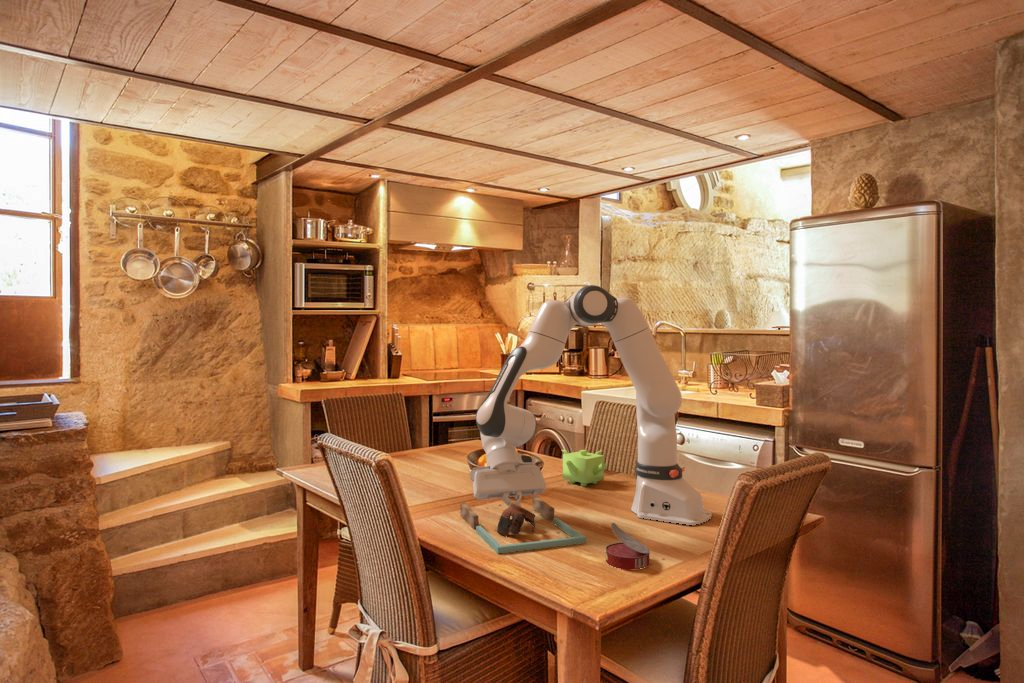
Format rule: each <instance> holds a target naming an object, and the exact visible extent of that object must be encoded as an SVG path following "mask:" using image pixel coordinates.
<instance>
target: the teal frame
mask: <svg viewBox="0 0 1024 683" xmlns="http://www.w3.org/2000/svg"><path fill="white" fill-rule="evenodd" d="M552 522H553V523H554V524H556V525H557V526H558V527H557V526H556V525H555V526H556V527H557V528H559V527H560V528H561V529H562V530H561V529H560V528H559V529H560V530H561V531H563V530H564V531H565V532H564V531H563V532H564V533H566V532H567V533H568V534H569V535H568V534H567V533H566V534H567V535H568V536H570V535H571V536H572V537H571V536H570V537H563V538H553V539H544V540H536V541H528V542H518V543H510V544H504V545H502V544H500V542H498V541H497V540H496V539H495V538H494V537H493V536H492V535H491V534H490V533H489V532H488V531H487V530H486V529H484V527H483V526H482V525H478V526H476V529H475V532H476V533H477V535H479V537H481V538H482V540H483V541H485V543H486V544H487V545H488V546H490V548H491V547H492V548H493V549H494V550H495V551H496V552H497V553H496V552H495V551H494V550H493V549H492V548H491V549H492V550H493V551H494V552H495V553H496V554H497V555H500V553H502V554H508V553H509V552H510V553H516V551H518V552H524V550H527V551H532V550H533V549H535V550H542V548H543V549H549V547H551V548H556V546H560V547H565V546H564V545H568V546H574V545H573V544H576V545H581V544H580V543H584V544H586V543H587V537H586V536H585V535H584V534H582V533H580V532H579V531H577V530H576V529H574V528H573V527H572V526H570V525H569V524H568V523H566V522H564V521H563V520H561V519H560V518H559V517H554V518H553V521H552ZM553 523H552V524H553ZM554 524H553V525H554Z"/></svg>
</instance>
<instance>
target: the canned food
mask: <svg viewBox="0 0 1024 683" xmlns="http://www.w3.org/2000/svg"><path fill="white" fill-rule="evenodd" d="M610 527H611V530H612V532H613V535H615V537H616V538H617V539H618V540H619V541H620V542H614V543H610V544H608V545H607V546H606V547H605V563H606V562H607V563H608V564H609V565H608V564H607V563H606V564H607V565H608V566H610V565H611V566H613V567H612V568H614V567H616V568H615V569H617V568H621V569H620V570H622V569H640V568H644V567H646V566H648V565H649V566H650V555H651V554H650V553H651V552H650V549H649V548H648V547H647V546H646V545H645V544H644V543H643V542H641V541H640V540H638V539H636V538H634V537H633V536H631V535H630V534H628V533H627V532H626V531H624V530H623V529H622V528H620V527H619V526H618V525H617V524H616V523H615V522H612V523H610ZM611 566H610V567H611ZM649 566H648V567H649ZM644 569H645V568H644ZM640 570H641V569H640Z"/></svg>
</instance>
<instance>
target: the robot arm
mask: <svg viewBox="0 0 1024 683" xmlns="http://www.w3.org/2000/svg"><path fill="white" fill-rule="evenodd" d="M597 324H601V325H603V327H605V328H606V329H607V332H608V333H609V335H610V337H611V339H612V343H613V345H614V347H615V349H616V352H617V354H618V356H619V360H620V361H621V363H622V365H623V368H624V369H625V372H626V374H627V375H628V377H629V379H630V381H631V383H632V386H633V387H634V390H635V405H636V406H635V407H636V410H635V411H636V423H637V424H636V425H637V461H635V478H636V485H635V492H634V497H633V501H632V505H631V508H630V509H631V512H633V513H634V514H636V517H637V518H639V519H643V518H644V520H650V519H651V520H650V521H656V520H658V521H657V522H663V521H664V523H669V522H671V523H670V524H676V523H679V524H678V525H682V524H686V525H685V526H689V525H692V526H697V525H696V524H699V525H701V524H700V523H702V524H704V523H703V522H705V523H707V522H709V521H710V520H711V519H712V518H713V517H712V516H713V515H712V512H711V511H709V510H706V509H705V507H704V501H703V497H702V494H701V493H700V492H699V491H698V490H697V489H696V488H694V487H693V486H692V485H691V484H690V483H689V482H688V480H686V479H685V478H683V472H685V471H686V470H685V469H686V467H684V466H683V467H681V466H680V465H679V463H678V462H677V461H678V460H677V458H678V455H677V454H678V452H677V451H678V434H677V428H676V418H675V416H676V415H675V414H676V413H677V412H678V411H679V410H680V408H681V406H682V401H683V397H682V392H681V390H680V388H679V386H678V384H677V382H676V379H675V378H674V376H673V374H672V371H671V370H670V368H669V366H668V364H667V362H666V361H665V359H664V357H663V355H662V353H661V351H660V349H659V347H658V344H657V342H656V340H655V338H654V335H653V333H652V331H651V329H650V326H649V324H648V322H647V320H646V318H645V315H644V314H643V312H642V311H641V309H640V308H639V306H638V305H637V303H636V302H635V301H634V299H632V298H630V297H626V296H621V297H617V298H616V296H614V295H612V294H611V293H610V292H609V291H607V290H606V289H605V288H603V287H601V286H600V285H594V284H591V285H586V286H583V287H581V288H579V289H577V290H576V291H575V292H573V294H571V295H570V296H569V297H568V298H567V299H566V300H565V301H561V300H555V299H549V300H546V301H544V302H542V304H541V305H540V307H539V309H538V310H537V312H536V313H535V316H534V318H533V320H532V322H531V324H530V327H529V330H528V333H527V335H526V337H525V339H524V340H523V342H522V343H521V344H520V345H519V346H518V347H515V348H513V350H512V351H511V352H510V353H509V355H508V357H507V358H506V360H505V362H504V363H503V365H502V368H501V369H500V371H499V373H498V375H497V377H496V378H495V380H494V383H493V385H492V386H491V389H490V391H489V392H488V394H487V396H486V397H485V399H484V400H483V402H482V403H481V404H480V405H479V406H478V408H477V411H476V414H475V424H476V426H477V428H478V430H479V435H480V440H481V445H482V449H483V451H484V452H485V461H486V464H487V466H486V465H484V466H476V467H473V468H472V469H470V471H469V477H470V478H469V479H470V480H471V482H472V489H473V491H472V492H473V497H474V498H475V499H476V500H479V501H480V500H481V501H482V500H490V499H502V501H503V503H505V504H506V505H507V508H509V507H510V506H511V503H512V504H515V505H518V506H520V507H522V504H521V500H522V498H523V496H524V497H527V496H534V495H535V496H537V495H542V494H543V493H544V491H545V489H546V487H547V484H546V480H545V477H544V475H543V473H542V471H541V469H540V467H539V466H537V465H536V462H537V461H536V458H535V457H534V456H533V455H532V456H531V455H528V454H527V455H526V454H523V453H520V452H517V451H516V448H519V447H522V446H523V445H525V444H527V443H528V442H529V441H530V440H531V439H533V437H534V436H535V434H536V432H537V428H538V426H537V425H538V423H537V419H536V416H535V414H534V413H533V412H532V411H530V410H527V409H525V408H522V407H518V406H515V405H512V404H508V401H509V399H510V396H512V392H513V391H514V390H515V388H516V385H517V383H518V381H519V380H520V378H521V377H522V376H523V375H525V373H528V372H530V371H531V372H532V371H535V370H543V369H549V368H550V367H552V366H554V365H556V364H557V363H558V361H559V360H560V359H561V357H562V354H563V351H564V349H565V346H566V343H567V341H568V337H569V334H570V333H571V330H572V329H573V328H574V327H579V328H580V327H581V328H584V327H592V326H596V325H597ZM511 497H514V499H515V500H516V501H512V500H511V499H510V498H511ZM711 517H712V518H711ZM709 519H710V520H709ZM708 520H709V521H708ZM706 521H707V522H706Z"/></svg>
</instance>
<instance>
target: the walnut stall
mask: <svg viewBox="0 0 1024 683" xmlns="http://www.w3.org/2000/svg"><path fill="white" fill-rule="evenodd" d="M459 505H460V508H459V510H460V511H459V512H460V517H461V518H462V519H463V520H464V521H465V522H466V523H467V524H468V525H469V526H470V527H471V528H472V529H473V530H474V529H475V530H476V526H479V515H478V514H477V513H476V512H475V511H474V510H473V509H472V508H470V507H469V506H468V505H467V504H466V503H465V502H462V503H460V504H459ZM532 508H533V509H534V510H533V509H532ZM532 508H531V509H532V510H533V511H535V510H536V511H537V512H536V511H535V512H536V513H538V514H539V513H540V514H541V516H542V515H543V516H544V517H543V516H542V517H543V518H545V519H546V518H547V519H548V521H549V520H550V521H549V522H553V518H555V507H553V506H551V505H550V504H549V503H547V502H546V501H544V500H542V499H541V498H539V497H537V496H532ZM540 514H539V515H540ZM547 519H546V520H547Z"/></svg>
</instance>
